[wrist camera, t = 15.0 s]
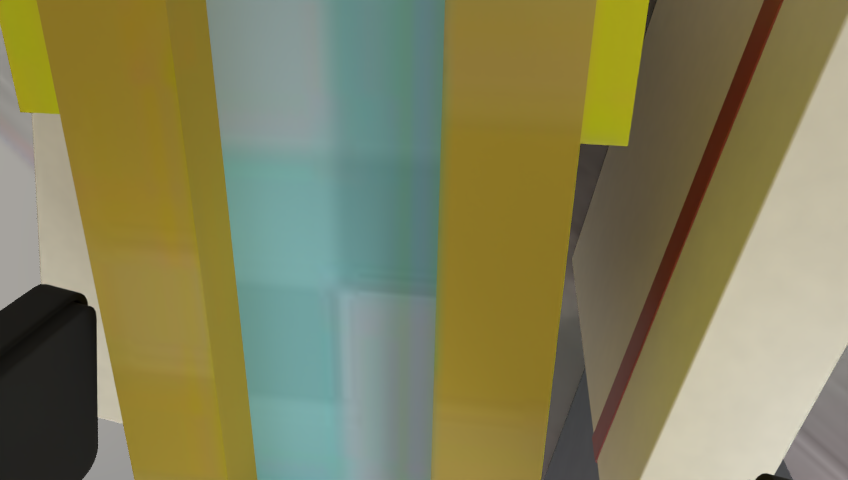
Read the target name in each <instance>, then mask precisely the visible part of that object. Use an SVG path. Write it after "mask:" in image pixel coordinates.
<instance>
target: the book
mask: <svg viewBox="0 0 848 480" xmlns="http://www.w3.org/2000/svg"><path fill="white" fill-rule="evenodd" d="M648 5H649V0H0V25H1V29H2V34H3V38H4V42H5V47H6V51H7V55H8V60H9V64H10V69H11V73H12V77H13V82H14V86H15V91H16V95H17V99H18V104H19V108H20V112H27V113H45V114H60V118H61V123H62V128H63V133H64V137H65V142H66V147H67V152H68V157H69V162H70V167H71V172H72V177H73V181H74V186H75V191H76V196H77V201H78V206H79V211H80V216H81V221H82V225H83V230H84V235H85V240H86V245H87V250H88V255H89V260H90V265H91V269H92V274H93V279H94V284H95V289H96V294H97V299H98V304H99V309H100V313H101V318H102V323H103V328H104V333H105V338H106V343H107V348H108V353H109V357H110V362H111V367H112V372H113V377H114V382H115V387H116V392H117V397H118V401H119V406H120V411H121V416H122V421H123V426H124V431H125V436H126V440H127V445H128V450H129V455H130V460H131V465H132V470H133V474H134V479H135V480H541V475H542V467H543V458H544V450H545V441H546V433H547V424H548V415H549V407H550V398H551V390H552V381H553V373H554V364H555V356H556V347H557V339H558V330H559V321H560V313H561V304H562V296H563V287H564V279H565V270H566V262H567V253H568V244H569V236H570V227H571V219H572V210H573V202H574V193H575V185H576V176H577V167H578V159H579V150H580V144H596V145H614V146H628V141H629V135H630V128H631V121H632V114H633V107H634V100H635V94H636V87H637V80H638V73H639V66H640V60H641V53H642V46H643V39H644V32H645V26H646V19H647V12H648Z"/></svg>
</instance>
